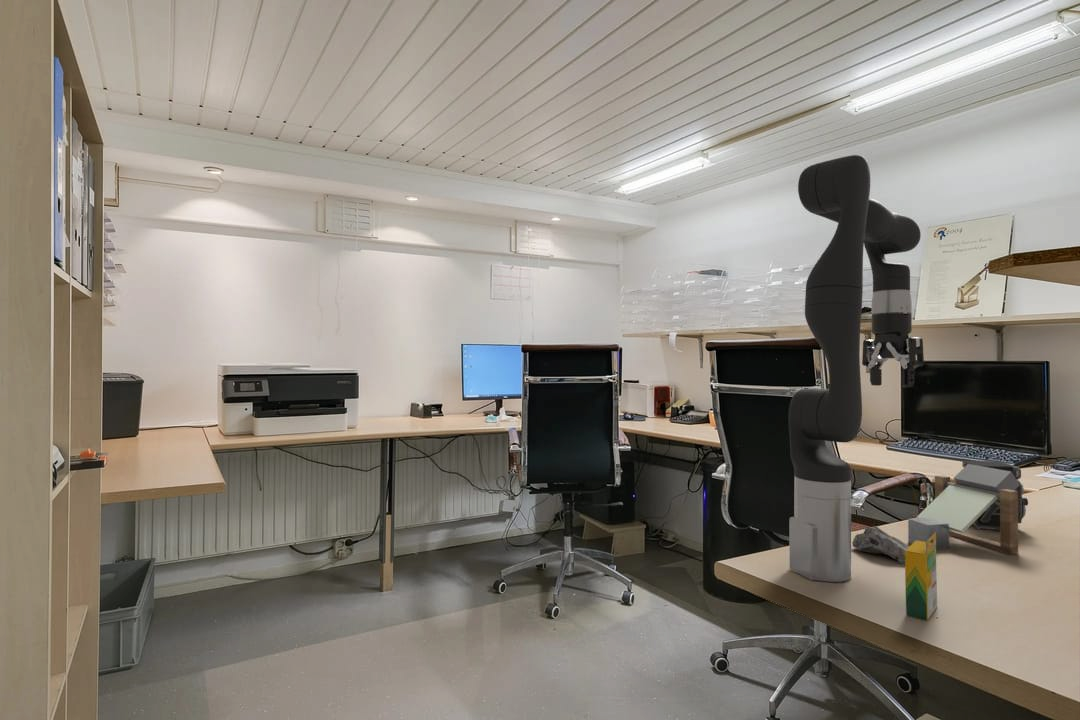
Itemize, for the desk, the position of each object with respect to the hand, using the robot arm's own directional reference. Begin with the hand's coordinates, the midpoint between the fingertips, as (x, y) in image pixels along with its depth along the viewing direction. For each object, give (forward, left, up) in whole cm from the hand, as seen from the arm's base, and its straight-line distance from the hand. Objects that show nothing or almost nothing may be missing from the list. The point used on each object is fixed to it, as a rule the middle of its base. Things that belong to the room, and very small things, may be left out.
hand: (891, 386), depth 127 cm
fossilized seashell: (-11, -9, -34) cm, 36 cm away
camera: (+30, +2, -33) cm, 45 cm away
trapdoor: (+14, -6, -26) cm, 30 cm away
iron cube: (+6, -6, -31) cm, 32 cm away
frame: (+15, -6, -33) cm, 37 cm away
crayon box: (-26, -33, -33) cm, 54 cm away
